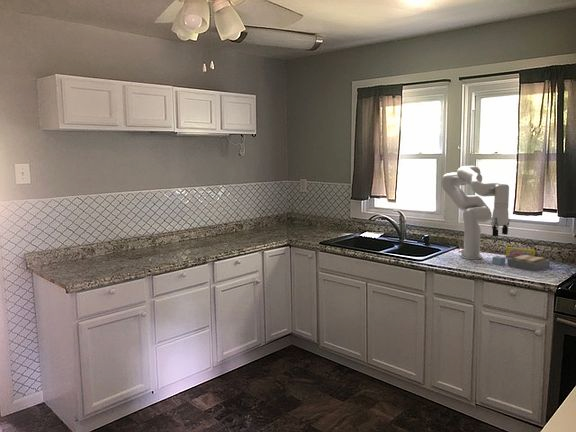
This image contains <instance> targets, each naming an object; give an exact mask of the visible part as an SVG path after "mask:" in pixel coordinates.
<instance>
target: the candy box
mask: <svg viewBox="0 0 576 432" xmlns="http://www.w3.org/2000/svg"><path fill="white" fill-rule="evenodd" d="M521 255H530V256H535V255H536V250H535V249H529V248H528V249H527V248H521V247H513V246H506V247H505V260H506V259H507V260H508V259H510V258H513V257H517V256H521ZM535 257H536V256H535Z"/></svg>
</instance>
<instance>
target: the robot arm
mask: <svg viewBox="0 0 576 432" xmlns="http://www.w3.org/2000/svg"><path fill="white" fill-rule="evenodd" d="M468 184H469V186H470V188H471V190H472V192H473V193H475V194H476V195H473V194H472V195H468V194H466V193H465V192H464V190H463V189H461V188H460V187H458V186H466V185H468ZM441 187H442V189H443V191H444V192H445V193H446V194H447V196H449V197H450V199H451V200H452V201H453V203H454V205H456V206H457V208H458V209H459V210H460V211H463V213H462V216H463V217H462V219H463V225H464V228H463V229H464V231H463V233H464V234H463V248H460V249H459V250H458V253H459V254H461V255H460V258H463V259H465V260H481V259H483V255H481V254H480V253H481V233H482V232H481V226H480V225H479V223H485V222H489V221H490V220H491V222H490V224H491V228H492V229H491V230H492V236H493V237H499V227H501V226H502V228H501V233H502V235H508V232H509V225H510V221H511V219H509V203H510V201H509V198H510V197H509V196H510V186H509V185H508V184H507V183H497V182H491V183H486V182H485V183H483V176H482V173H481V169H480V168H479V167H478V166H476V165H464V166H460V167H459V168H458V169H457V171H456V172H449V173H445V174H444V175H443V176H442V178H441ZM481 197H493V199H494V202H493V209H492V211H491V209H490V207H489V206H488V205H487V204H486V203H485V201H484V200H483V198H481Z"/></svg>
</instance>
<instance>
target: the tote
mask: <svg viewBox="0 0 576 432" xmlns="http://www.w3.org/2000/svg"><path fill="white" fill-rule="evenodd" d="M550 266H551V259H547V258H545V261H541V262H538V263H529V262H524V261H518V260H513V258H510V259H507V267H511V268H516V269H522V270H527V271H531V272H537V271H540V270H544V269H547V268H550Z"/></svg>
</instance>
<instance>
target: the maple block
mask: <svg viewBox="0 0 576 432" xmlns="http://www.w3.org/2000/svg"><path fill="white" fill-rule="evenodd" d="M545 259H546V258H545V257H540V256H530V255H521V256H517V257H513V260H518V261H524V262H529V263H538V262H541V261H545Z"/></svg>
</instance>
